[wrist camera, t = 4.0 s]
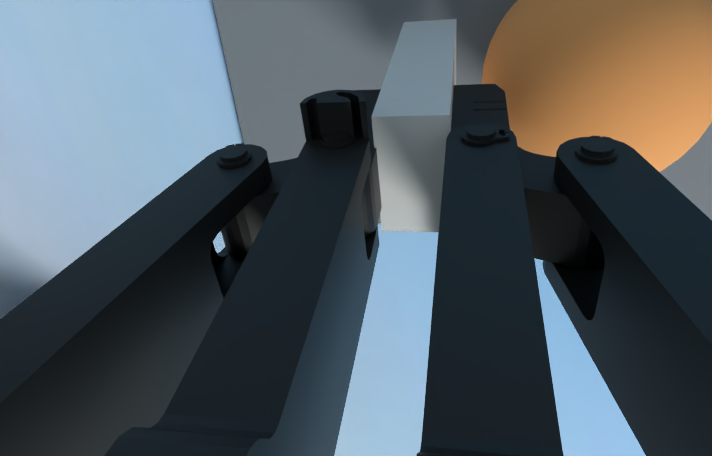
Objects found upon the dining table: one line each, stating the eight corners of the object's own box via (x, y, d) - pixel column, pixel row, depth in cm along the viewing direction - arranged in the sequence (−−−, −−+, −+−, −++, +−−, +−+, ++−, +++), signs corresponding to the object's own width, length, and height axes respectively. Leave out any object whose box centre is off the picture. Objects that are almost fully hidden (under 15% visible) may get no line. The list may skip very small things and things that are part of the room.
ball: (545, 254, 13) (757, 199, 14) (562, -4, 10) (833, -58, 11) (453, 160, 18) (613, 123, 19) (444, -33, 15) (636, -68, 16)
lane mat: (262, 218, 23) (261, 221, 23) (180, -159, 15) (177, -159, 15) (921, 226, 19) (925, 230, 19) (1232, -274, 12) (1243, -276, 11)
